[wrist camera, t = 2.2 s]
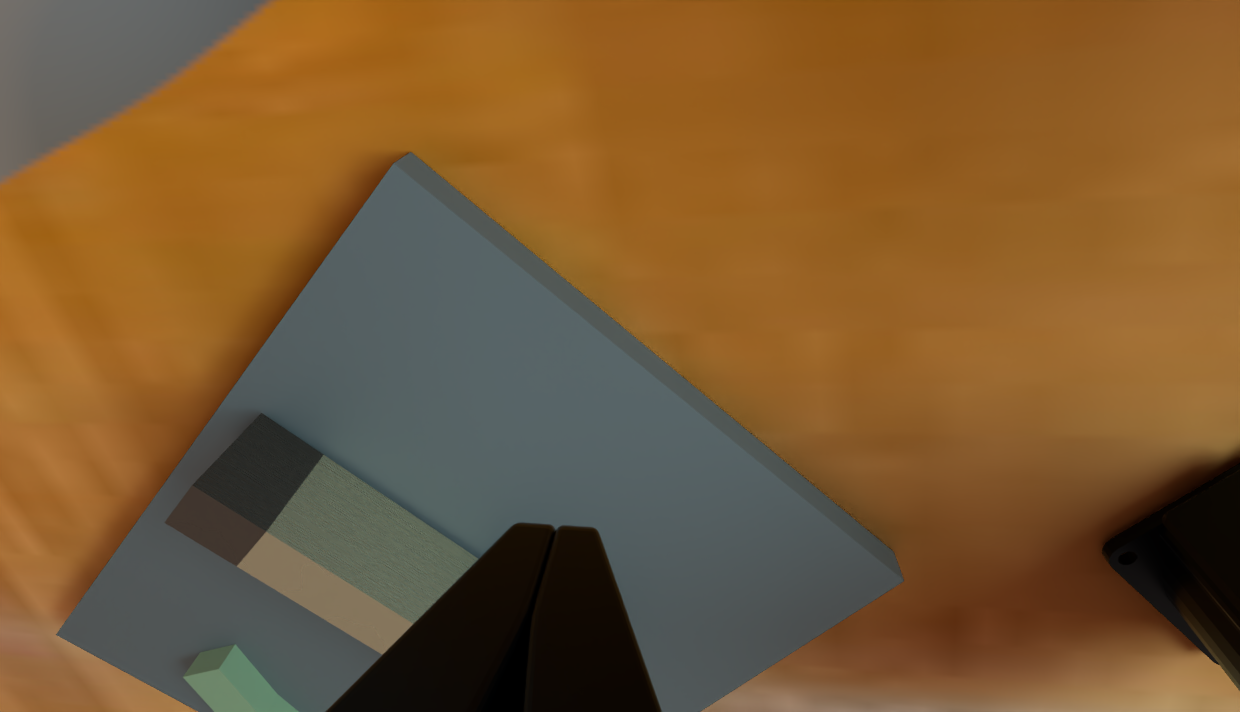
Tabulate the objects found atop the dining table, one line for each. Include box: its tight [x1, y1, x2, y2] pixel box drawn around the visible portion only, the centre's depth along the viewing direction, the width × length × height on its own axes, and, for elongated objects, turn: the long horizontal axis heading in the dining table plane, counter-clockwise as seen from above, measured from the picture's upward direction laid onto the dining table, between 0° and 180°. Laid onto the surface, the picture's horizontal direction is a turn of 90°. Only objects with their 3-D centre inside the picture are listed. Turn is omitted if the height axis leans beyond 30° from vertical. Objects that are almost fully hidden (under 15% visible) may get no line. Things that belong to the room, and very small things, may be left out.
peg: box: [164, 413, 478, 655], centre depth 20 cm, size 12×5×3 cm, turn 49°
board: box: [56, 152, 904, 712], centre depth 23 cm, size 18×22×2 cm
